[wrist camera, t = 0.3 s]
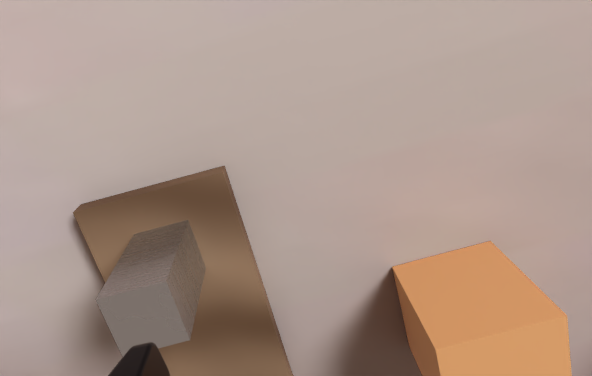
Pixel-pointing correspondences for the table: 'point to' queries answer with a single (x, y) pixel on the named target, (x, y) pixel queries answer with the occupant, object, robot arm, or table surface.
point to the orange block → (480, 317)
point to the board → (217, 280)
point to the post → (154, 288)
